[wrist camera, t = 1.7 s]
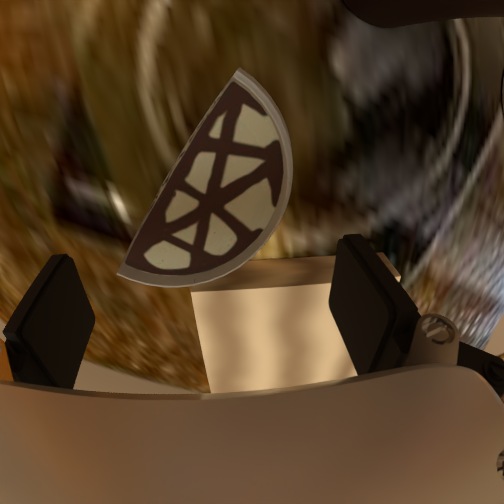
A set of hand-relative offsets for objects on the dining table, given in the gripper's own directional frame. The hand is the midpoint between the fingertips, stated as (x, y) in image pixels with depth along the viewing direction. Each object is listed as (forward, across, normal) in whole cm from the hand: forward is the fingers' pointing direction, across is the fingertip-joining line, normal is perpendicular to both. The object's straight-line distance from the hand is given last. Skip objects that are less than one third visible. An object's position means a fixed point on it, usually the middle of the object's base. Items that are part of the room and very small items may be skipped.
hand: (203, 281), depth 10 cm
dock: (+14, -7, +18) cm, 24 cm away
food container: (+15, -1, 0) cm, 15 cm away
